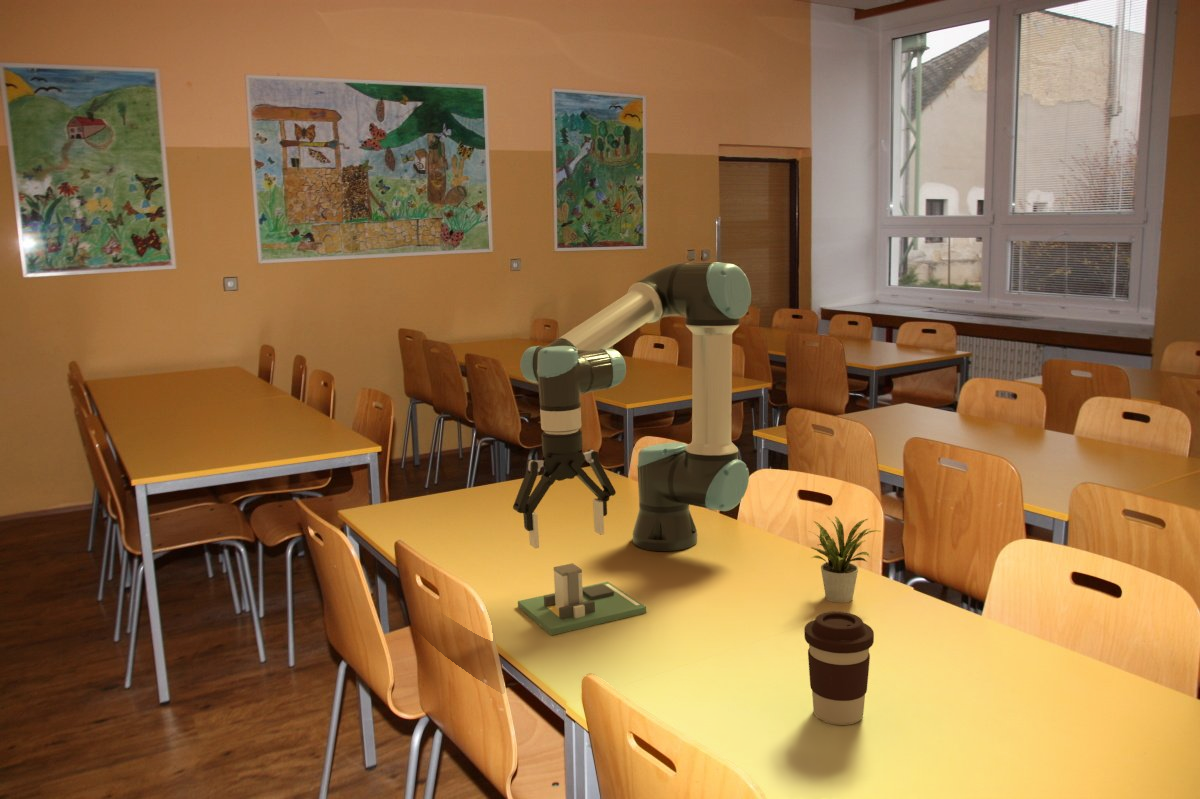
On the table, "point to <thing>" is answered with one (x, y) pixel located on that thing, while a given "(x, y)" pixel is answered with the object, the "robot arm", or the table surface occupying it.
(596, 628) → the table surface
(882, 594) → the table surface
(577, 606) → the board
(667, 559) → the table surface
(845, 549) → the house plant
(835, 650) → the coffee cup
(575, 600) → the plug
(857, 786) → the table surface
